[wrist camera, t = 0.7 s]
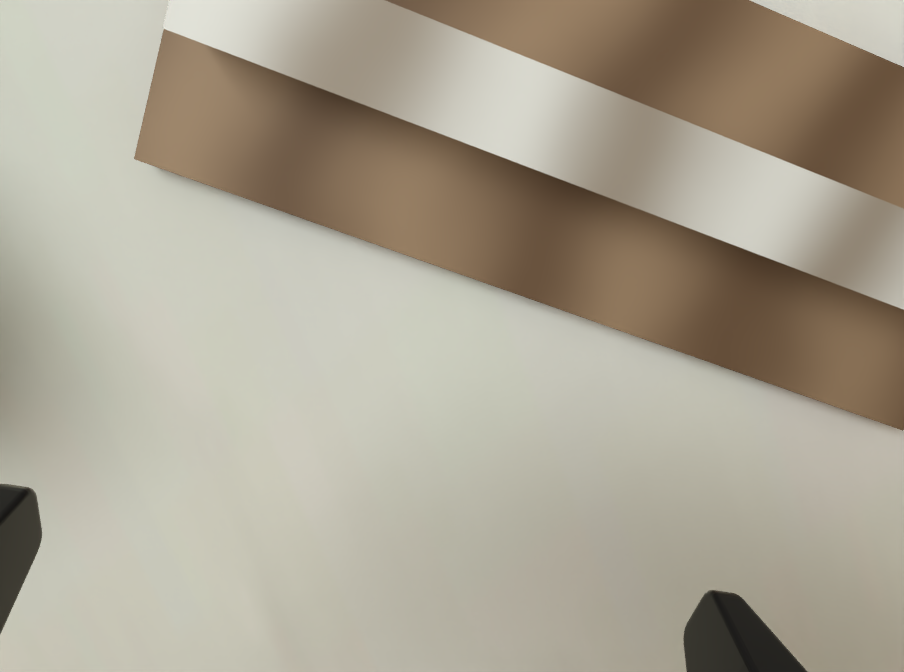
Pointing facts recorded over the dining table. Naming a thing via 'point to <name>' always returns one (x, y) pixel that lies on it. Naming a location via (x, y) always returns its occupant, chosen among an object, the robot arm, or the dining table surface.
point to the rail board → (571, 222)
